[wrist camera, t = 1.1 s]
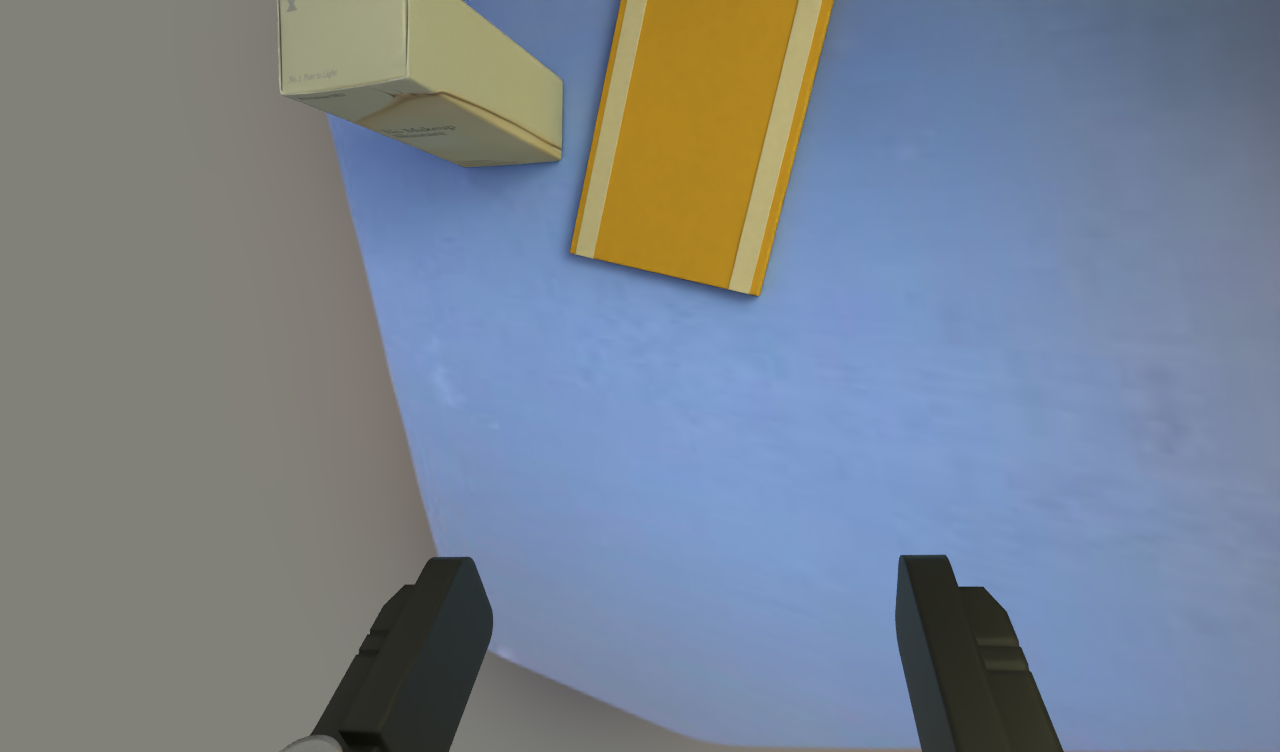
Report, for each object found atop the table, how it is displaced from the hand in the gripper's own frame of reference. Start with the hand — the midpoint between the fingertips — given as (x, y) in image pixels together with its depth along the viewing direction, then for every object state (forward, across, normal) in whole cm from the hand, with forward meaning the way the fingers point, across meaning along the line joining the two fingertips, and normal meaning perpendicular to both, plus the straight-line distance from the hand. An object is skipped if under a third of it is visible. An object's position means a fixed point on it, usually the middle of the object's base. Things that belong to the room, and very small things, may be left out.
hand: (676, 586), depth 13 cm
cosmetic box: (+28, +10, -4) cm, 30 cm away
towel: (+25, +1, -4) cm, 25 cm away
